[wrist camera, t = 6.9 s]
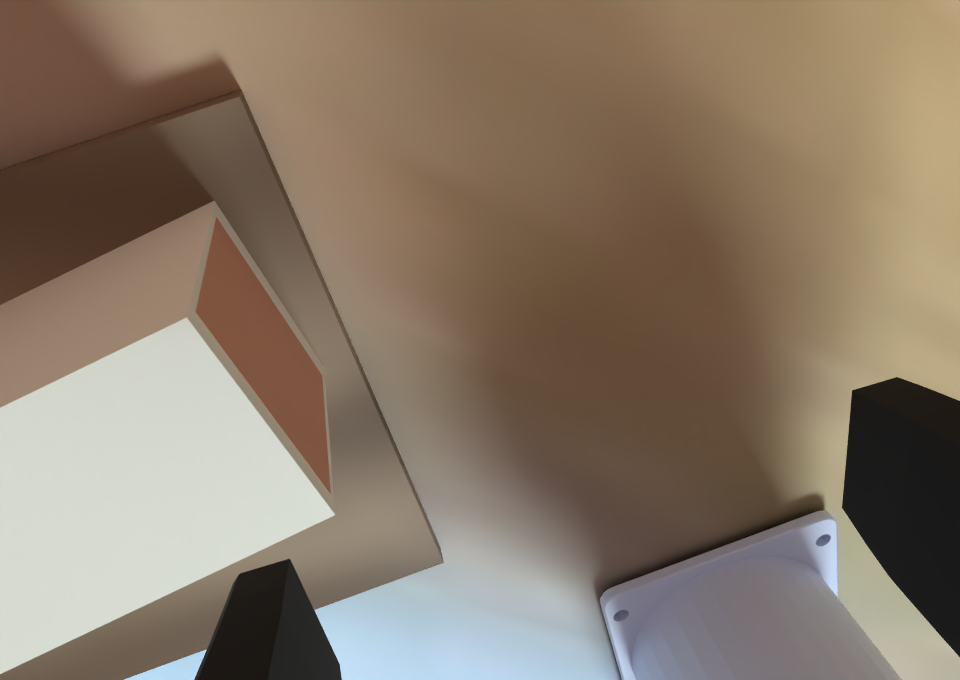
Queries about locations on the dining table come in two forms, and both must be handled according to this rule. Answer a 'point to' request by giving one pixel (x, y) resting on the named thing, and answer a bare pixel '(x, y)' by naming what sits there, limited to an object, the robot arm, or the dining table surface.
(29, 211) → the shelf
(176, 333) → the cream box brown top
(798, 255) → the dining table surface
